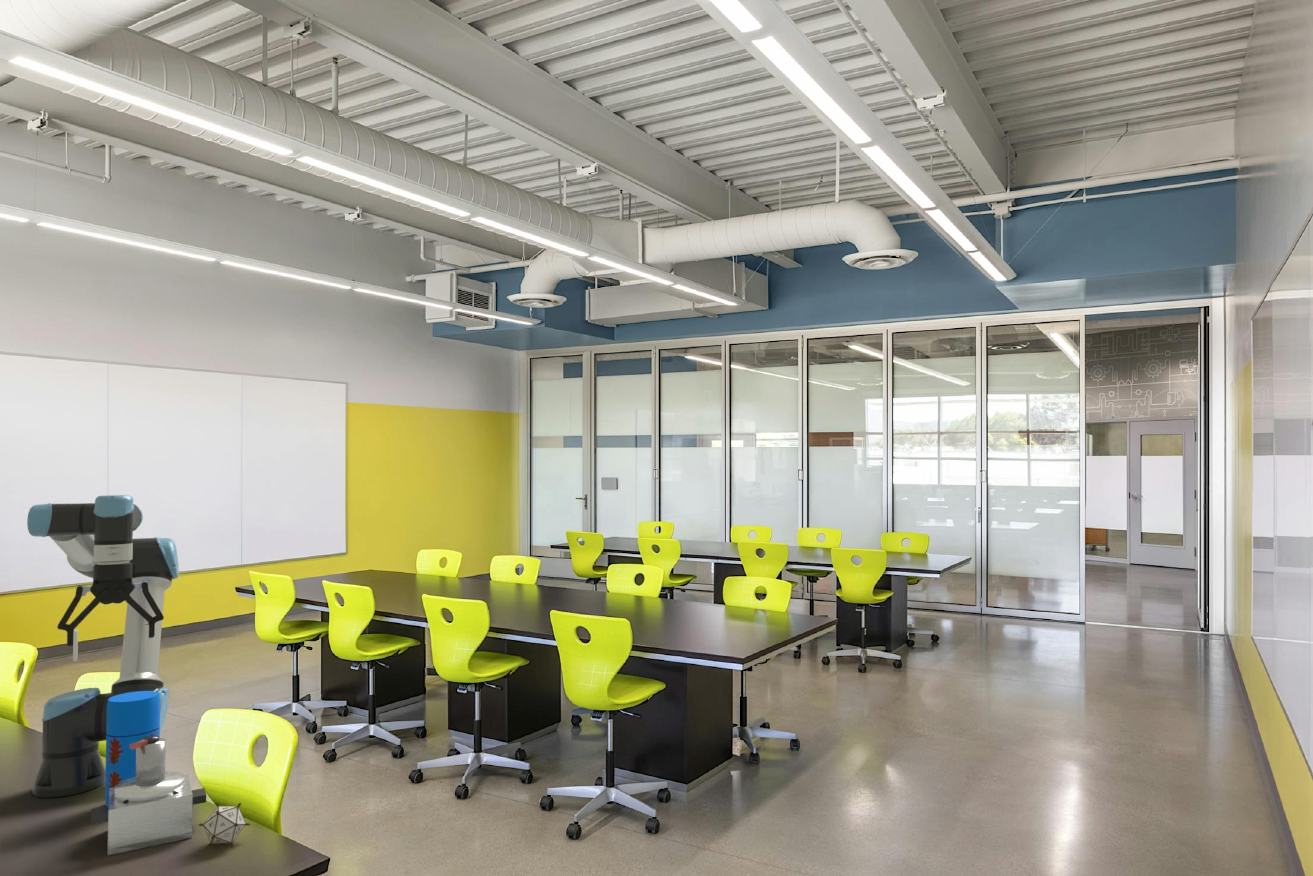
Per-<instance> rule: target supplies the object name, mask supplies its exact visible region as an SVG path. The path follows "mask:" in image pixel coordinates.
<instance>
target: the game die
mask: <svg viewBox="0 0 1313 876" xmlns="http://www.w3.org/2000/svg"><path fill="white" fill-rule="evenodd" d="M215 805H216V808H215V809H214V810H213V811H212V812H211V814H210V815H209V816H208V817H207V819H206V820H205V821H204V822H203V823H198V826H199V827H203V829H204V832H205V834H206V836H207V837H208V838H207V839H208V841H209V843H208V844H207V848H209V847H211V846H212V844H230V847H232V848H233V847H234V843H233V842H234V841H235V839H237V837H238V836H239V835H240V834H241V832H242V831H243V829H244V828H245V827H246V826H251V823H250V822H246V820H245V817H244V815H243V813H242V811H241V809H240V807H241V806H242V802H239V803H238V804H237V805H220V804H219V802H216V803H215Z"/></svg>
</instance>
